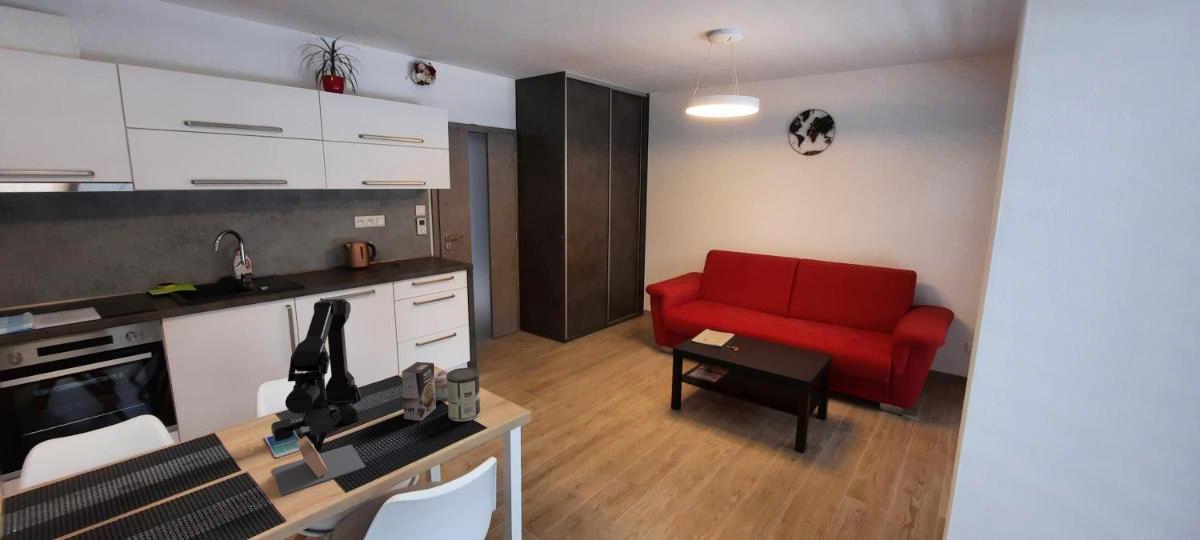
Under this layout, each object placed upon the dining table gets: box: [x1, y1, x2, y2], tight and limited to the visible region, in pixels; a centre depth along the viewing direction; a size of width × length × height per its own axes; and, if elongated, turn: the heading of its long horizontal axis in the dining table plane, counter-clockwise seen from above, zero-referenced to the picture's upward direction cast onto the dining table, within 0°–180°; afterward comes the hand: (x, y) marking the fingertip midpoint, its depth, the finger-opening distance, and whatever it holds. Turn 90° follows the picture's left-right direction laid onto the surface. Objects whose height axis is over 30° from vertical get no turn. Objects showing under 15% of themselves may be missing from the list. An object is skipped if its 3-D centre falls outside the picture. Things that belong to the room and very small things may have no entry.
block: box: [296, 436, 328, 478], centre depth 128 cm, size 10×2×7 cm, turn 40°
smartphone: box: [263, 430, 301, 459], centre depth 142 cm, size 8×1×15 cm
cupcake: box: [434, 369, 449, 401], centre depth 173 cm, size 9×9×10 cm
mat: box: [272, 444, 367, 497], centre depth 130 cm, size 14×19×1 cm
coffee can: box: [446, 367, 481, 423], centre depth 160 cm, size 10×10×14 cm
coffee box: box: [401, 361, 437, 422], centre depth 159 cm, size 9×6×16 cm
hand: (318, 451), depth 129 cm, fingers closed
